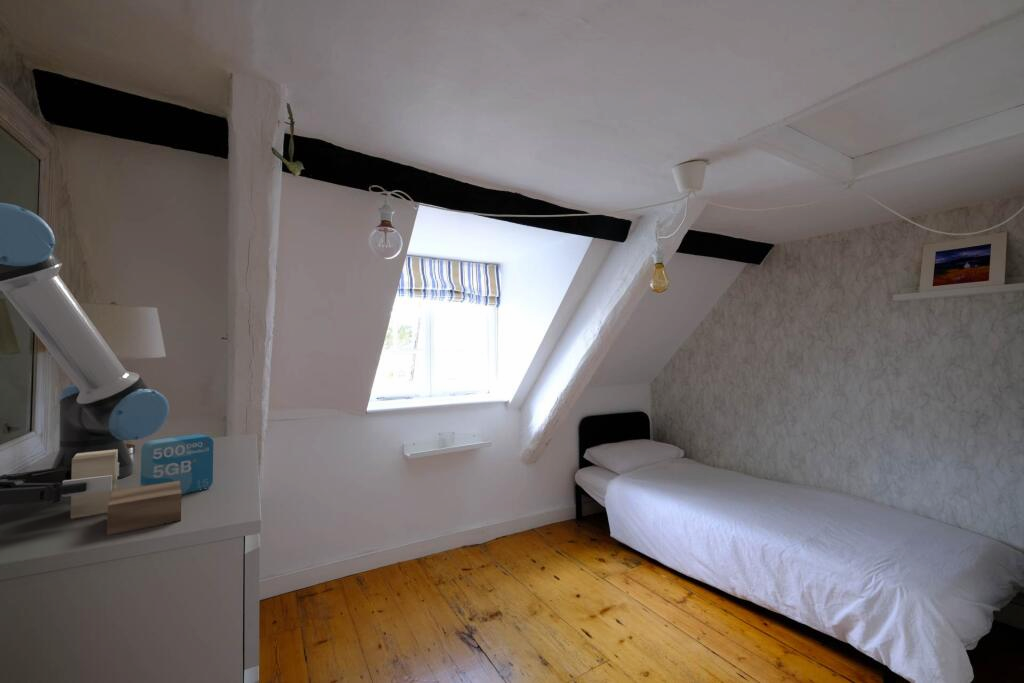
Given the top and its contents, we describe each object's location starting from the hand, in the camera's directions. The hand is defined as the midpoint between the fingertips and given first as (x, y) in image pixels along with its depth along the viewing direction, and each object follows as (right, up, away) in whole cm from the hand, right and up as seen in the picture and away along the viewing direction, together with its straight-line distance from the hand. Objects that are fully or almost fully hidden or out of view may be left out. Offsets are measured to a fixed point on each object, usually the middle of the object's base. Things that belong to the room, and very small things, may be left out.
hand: (115, 475), depth 87 cm
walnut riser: (+11, -6, -6) cm, 14 cm away
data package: (+5, -7, +9) cm, 13 cm away
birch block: (-3, -6, -1) cm, 7 cm away
